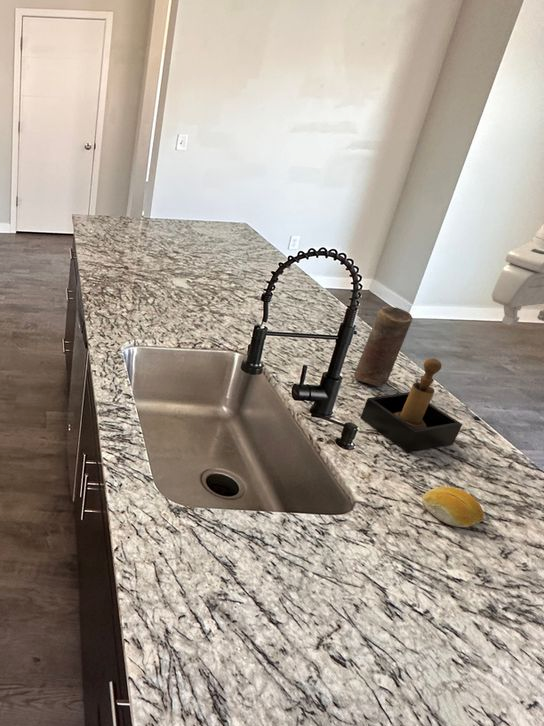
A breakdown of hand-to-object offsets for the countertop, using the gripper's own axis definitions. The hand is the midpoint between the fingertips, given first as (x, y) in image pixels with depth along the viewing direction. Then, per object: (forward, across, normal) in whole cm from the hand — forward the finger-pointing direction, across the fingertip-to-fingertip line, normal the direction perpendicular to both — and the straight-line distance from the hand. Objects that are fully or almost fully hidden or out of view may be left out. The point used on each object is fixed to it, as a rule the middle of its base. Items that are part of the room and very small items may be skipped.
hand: (526, 322), depth 106 cm
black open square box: (+29, +12, -6) cm, 32 cm away
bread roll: (+29, +25, +16) cm, 41 cm away
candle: (+29, +3, -25) cm, 38 cm away
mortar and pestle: (+29, +12, -6) cm, 32 cm away
